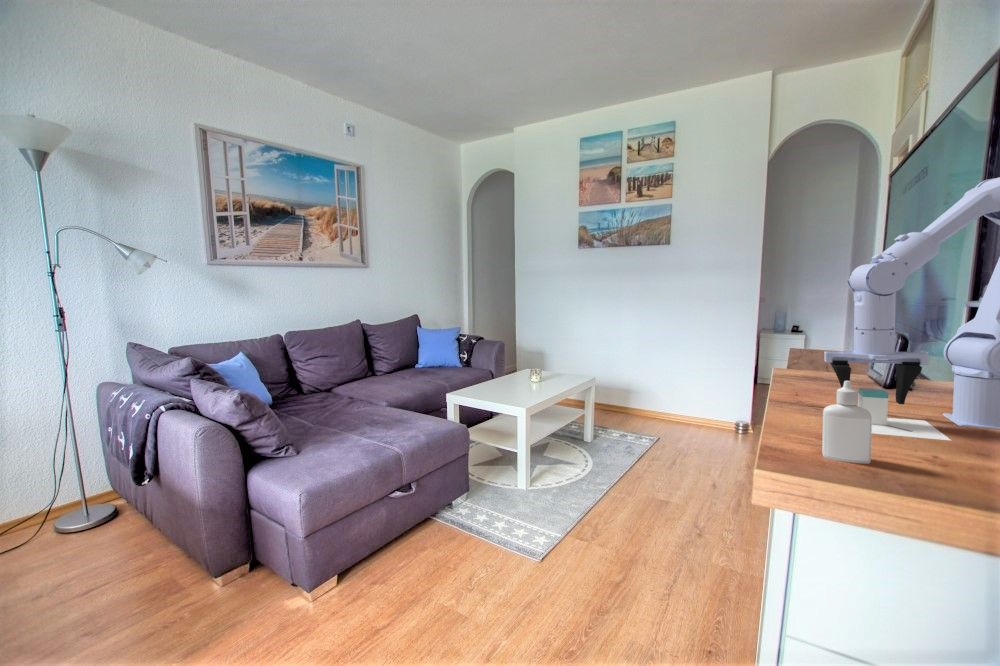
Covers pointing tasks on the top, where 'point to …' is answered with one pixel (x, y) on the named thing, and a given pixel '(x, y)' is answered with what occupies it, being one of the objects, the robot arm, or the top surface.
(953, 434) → the top surface
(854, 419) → the eye dropper bottle
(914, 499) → the top surface
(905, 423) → the paper
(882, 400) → the white and teal box
